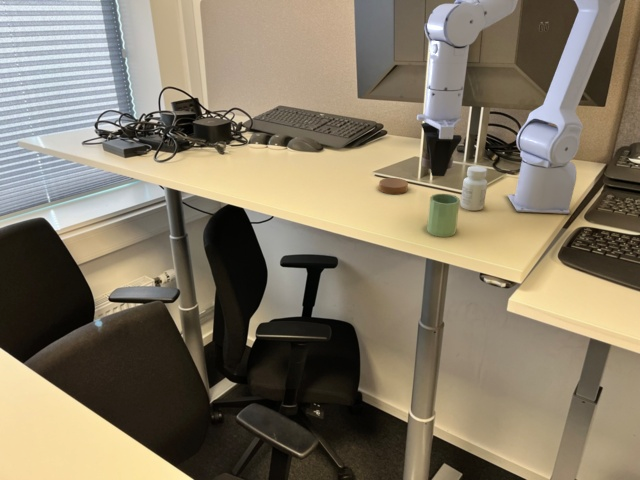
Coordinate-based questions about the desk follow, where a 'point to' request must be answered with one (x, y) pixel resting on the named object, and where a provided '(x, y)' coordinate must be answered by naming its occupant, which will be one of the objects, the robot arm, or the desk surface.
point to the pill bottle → (474, 189)
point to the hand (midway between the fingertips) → (436, 169)
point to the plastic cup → (443, 215)
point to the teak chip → (393, 186)
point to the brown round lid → (426, 161)
